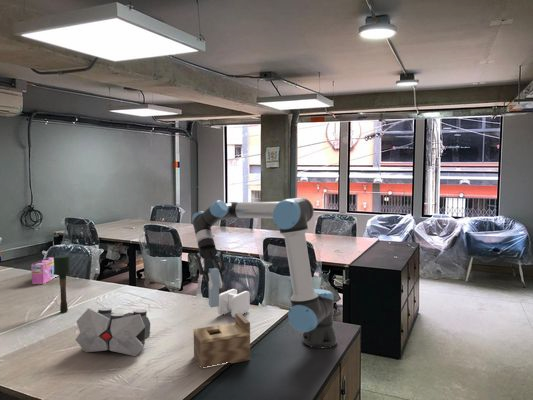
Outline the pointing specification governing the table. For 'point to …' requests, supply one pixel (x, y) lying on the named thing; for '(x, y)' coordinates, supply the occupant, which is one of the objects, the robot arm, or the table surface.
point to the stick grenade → (62, 277)
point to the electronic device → (113, 331)
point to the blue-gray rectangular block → (214, 288)
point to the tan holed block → (224, 330)
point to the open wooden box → (222, 350)
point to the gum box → (43, 271)
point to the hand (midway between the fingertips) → (216, 287)
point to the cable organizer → (234, 302)
